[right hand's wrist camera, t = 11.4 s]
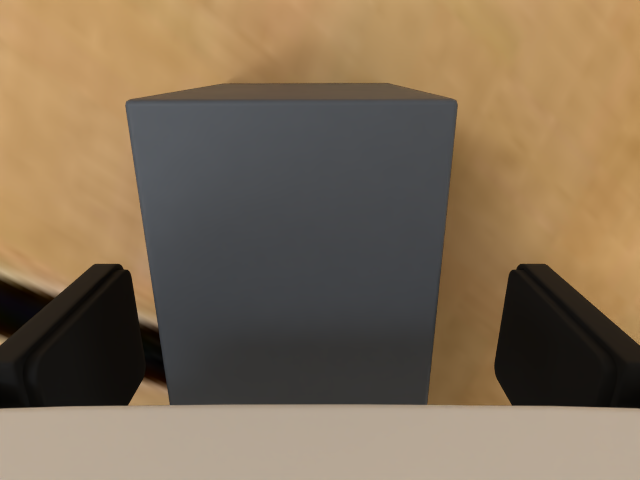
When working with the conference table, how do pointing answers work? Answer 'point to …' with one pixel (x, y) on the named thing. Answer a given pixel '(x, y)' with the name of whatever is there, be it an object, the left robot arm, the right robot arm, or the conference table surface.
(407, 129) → the bar
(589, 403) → the right robot arm
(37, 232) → the conference table surface
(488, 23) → the conference table surface
